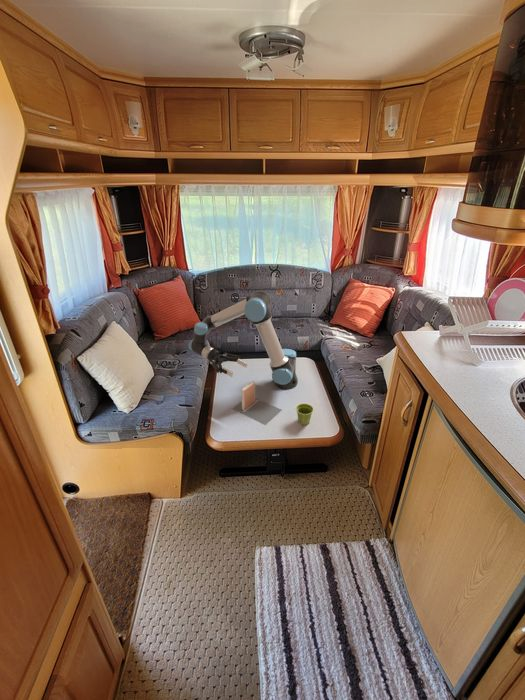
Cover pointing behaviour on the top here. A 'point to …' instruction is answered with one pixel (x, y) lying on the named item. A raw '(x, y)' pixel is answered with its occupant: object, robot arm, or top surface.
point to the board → (259, 411)
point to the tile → (248, 395)
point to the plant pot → (304, 413)
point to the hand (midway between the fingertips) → (239, 370)
